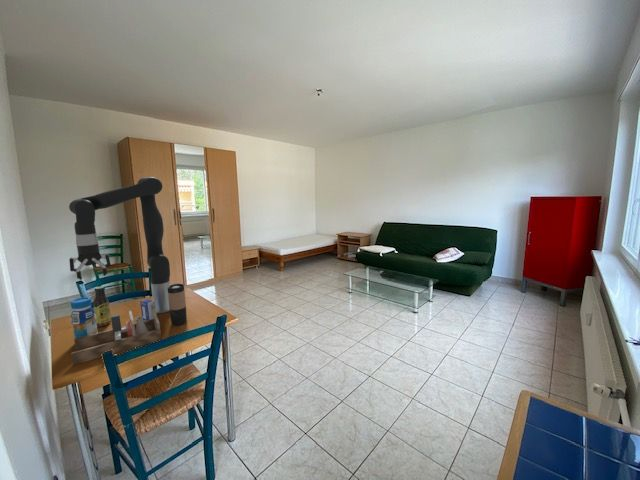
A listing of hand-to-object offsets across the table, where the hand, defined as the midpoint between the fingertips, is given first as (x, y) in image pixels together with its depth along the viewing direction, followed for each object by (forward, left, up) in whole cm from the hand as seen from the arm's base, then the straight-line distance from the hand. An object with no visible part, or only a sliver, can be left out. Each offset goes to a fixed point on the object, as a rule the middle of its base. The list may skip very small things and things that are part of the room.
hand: (92, 277), depth 125 cm
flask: (-15, +17, -28) cm, 36 cm away
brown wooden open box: (-7, +18, -28) cm, 34 cm away
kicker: (-8, +18, -28) cm, 34 cm away
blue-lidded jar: (+5, +5, -28) cm, 29 cm away
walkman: (-20, +2, -28) cm, 35 cm away
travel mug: (-32, +12, -28) cm, 44 cm away
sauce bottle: (-1, -10, -28) cm, 30 cm away
